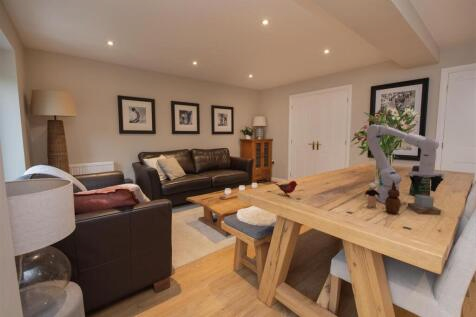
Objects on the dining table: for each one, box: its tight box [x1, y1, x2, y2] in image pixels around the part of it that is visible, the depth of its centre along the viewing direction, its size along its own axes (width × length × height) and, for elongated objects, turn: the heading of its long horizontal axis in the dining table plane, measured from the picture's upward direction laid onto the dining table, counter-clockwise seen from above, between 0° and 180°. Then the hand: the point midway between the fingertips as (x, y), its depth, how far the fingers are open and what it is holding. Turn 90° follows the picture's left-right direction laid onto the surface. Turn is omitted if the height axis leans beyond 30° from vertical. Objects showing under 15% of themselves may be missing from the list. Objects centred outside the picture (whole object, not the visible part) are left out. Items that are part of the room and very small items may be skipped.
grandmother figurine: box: [363, 182, 380, 209], centre depth 111 cm, size 8×4×13 cm, turn 92°
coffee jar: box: [408, 165, 431, 197], centre depth 132 cm, size 10×8×19 cm
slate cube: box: [413, 195, 435, 208], centre depth 106 cm, size 5×5×5 cm
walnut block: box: [406, 202, 442, 216], centre depth 106 cm, size 9×9×3 cm
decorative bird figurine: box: [273, 180, 298, 197], centre depth 132 cm, size 3×18×10 cm, turn 42°
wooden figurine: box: [384, 181, 401, 214], centre depth 104 cm, size 7×6×15 cm
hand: (424, 190), depth 108 cm, fingers open, 7 cm apart
